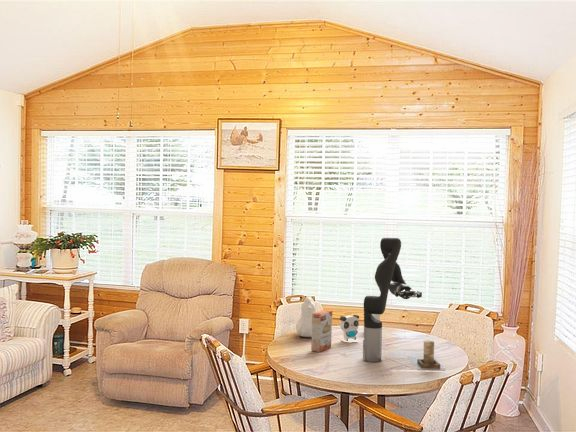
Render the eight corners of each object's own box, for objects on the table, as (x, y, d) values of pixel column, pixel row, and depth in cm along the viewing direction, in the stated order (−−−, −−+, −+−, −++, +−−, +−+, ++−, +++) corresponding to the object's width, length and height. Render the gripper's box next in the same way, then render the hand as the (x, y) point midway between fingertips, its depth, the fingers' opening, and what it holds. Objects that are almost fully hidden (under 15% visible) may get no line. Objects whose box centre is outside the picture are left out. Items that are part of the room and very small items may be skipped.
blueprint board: (417, 370, 262) (417, 368, 262) (406, 357, 284) (406, 356, 284) (445, 370, 263) (445, 368, 263) (432, 358, 285) (432, 356, 285)
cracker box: (320, 352, 291) (321, 314, 291) (310, 351, 294) (311, 313, 294) (332, 347, 303) (332, 310, 303) (322, 345, 306) (323, 309, 306)
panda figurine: (346, 344, 311) (347, 318, 311) (335, 339, 321) (336, 314, 321) (363, 341, 317) (363, 316, 317) (351, 337, 327) (352, 313, 327)
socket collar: (421, 368, 263) (422, 364, 263) (417, 363, 272) (417, 359, 272) (440, 368, 263) (440, 364, 263) (434, 363, 272) (435, 359, 272)
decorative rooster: (319, 340, 318) (320, 298, 318) (293, 339, 321) (294, 297, 321) (324, 331, 343) (324, 292, 343) (299, 329, 346) (300, 291, 345)
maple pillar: (424, 367, 265) (425, 343, 265) (422, 364, 270) (422, 340, 270) (434, 367, 265) (435, 343, 265) (431, 364, 270) (432, 340, 270)
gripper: (391, 284, 305) (398, 288, 289) (416, 285, 305) (424, 289, 289) (391, 297, 305) (397, 302, 289) (416, 298, 305) (424, 303, 289)
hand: (411, 296), depth 289 cm, fingers open, 8 cm apart
